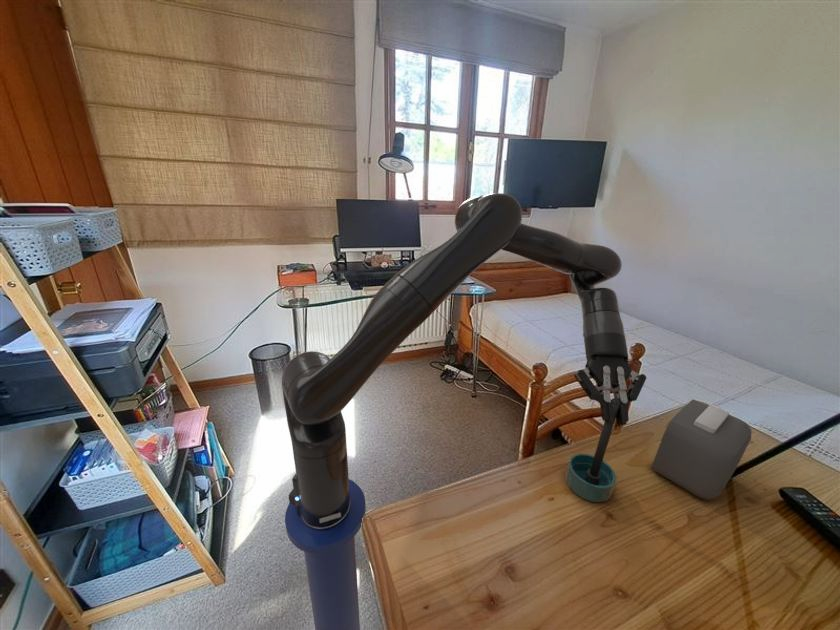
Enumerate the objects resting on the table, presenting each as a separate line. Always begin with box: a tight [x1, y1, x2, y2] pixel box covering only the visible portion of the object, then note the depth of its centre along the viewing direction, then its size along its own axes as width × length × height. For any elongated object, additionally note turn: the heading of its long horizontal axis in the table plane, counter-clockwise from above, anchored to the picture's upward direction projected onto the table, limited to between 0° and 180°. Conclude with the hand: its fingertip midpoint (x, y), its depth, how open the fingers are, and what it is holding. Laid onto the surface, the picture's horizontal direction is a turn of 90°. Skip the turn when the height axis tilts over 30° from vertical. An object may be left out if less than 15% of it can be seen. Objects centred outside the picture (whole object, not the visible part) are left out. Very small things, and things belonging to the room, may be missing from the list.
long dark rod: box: [585, 397, 620, 486], centre depth 68 cm, size 3×3×21 cm
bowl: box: [564, 452, 617, 503], centre depth 72 cm, size 9×9×4 cm
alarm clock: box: [651, 399, 752, 500], centre depth 74 cm, size 16×11×16 cm
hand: (616, 423), depth 63 cm, fingers closed on long dark rod
